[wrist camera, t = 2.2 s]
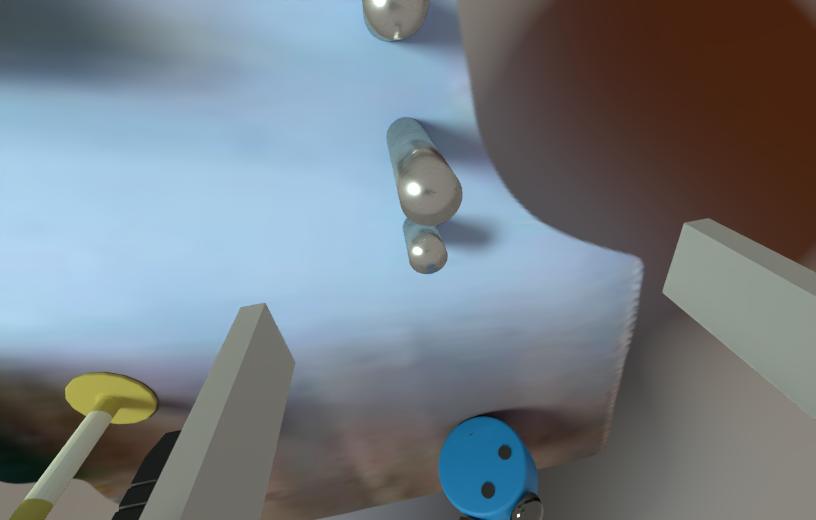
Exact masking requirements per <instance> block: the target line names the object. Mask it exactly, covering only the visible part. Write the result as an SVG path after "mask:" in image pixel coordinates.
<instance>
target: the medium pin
mask: <svg viewBox="0 0 816 520" xmlns="http://www.w3.org/2000/svg"><path fill="white" fill-rule="evenodd" d="M362 2H363V15H364V21H365V24H366V26H367V28H368V30H369V31H370V33H371V34H372V35H373V36H374V37H376V38H377V39H379V40H382V41H394V40H401V39H405V38H407V37H410V36H411V35H413V34H414V33H415V32H416V31H417V30H418V29H419V28H420V27H421V25H422V24H423V22H424V20H425V18H426V15H427V12H428V7H429V0H362Z"/></svg>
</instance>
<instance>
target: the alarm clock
mask: <svg viewBox="0 0 816 520" xmlns="http://www.w3.org/2000/svg"><path fill="white" fill-rule="evenodd" d="M439 475H440V481H441V484H442V487H443V490H444V492H445V493H446V495H447V497H448V499H449V500H450V501H451V503H452V504H453V505H454V506H456V508H458V509H459V510H460V511H461V512H462V513H463V514H464V515H465V516H467V517H460V519H459V520H541V519H542V516H543V506H542V502H541V500H540V498H539V497H538V496H537V489H538V475H537V469H536V465H535V462H534V460H533V458H532V456H531V454H530V452H529V451H528V449H527V447H526V446H525V444H524V443H523V441H522V440H521V438H520V437H519V435H518V434H517V433H516V432H515V430H514V429H513V428H512V427H510V426H509V425H508V424H506V423H505V422H503V421H501V420H499V419H497V418H493V417H487V416H480V417H474V418H471V419H468V420H466V421H464V422H463V423H461V424H460V425H458V426H457V427H456V428H455V429H454V430H453V431H452V432H451V433H450V435H449V436H448V437H447V439H446V441H445V443H444V445H443V448H442V450H441V454H440V459H439Z"/></svg>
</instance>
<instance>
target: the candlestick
mask: <svg viewBox="0 0 816 520" xmlns="http://www.w3.org/2000/svg"><path fill="white" fill-rule="evenodd" d="M65 391H66V399H67V401H68V402H69V403H70V405H71V406H72V407H73V408H74V409H76V410H77V411H79V412H80V413H82V414H83V415H85V416H86V418H85V419H84V420H83V422H82V423H81V424H80V426H79V427H78V428H77V430H76V431H75V432H74V434H73V435H72V436H71V438H70V439H69V440H68V442H67V443H66V444H65V446H64V447H63V448H62V450H61V451H60V452H59V454H58V455H57V456H56V458H55V459H54V460H53V462H52V463H51V464H50V466H49V467H48V468H47V470H46V471H45V472H44V474H43V475H42V476H41V478H40V479H39V480H38V482H37V483H36V484H35V486H34V487H33V489H32V490H31V491H30V492H29V494H28V495H27V496H26V498H25V499H24V500H23V502H22V503H21V504H20V506H19V507H18V508H17V510H16V511H15V512H14V514H13V515H12V516H11V518H10V519H9V520H45V518H46V517H47V515H48V514H49V512H50V511H51V509H52V507H53V506H54V505H55V503H56V502H57V500H58V499H59V497H60V496H61V494H62V493H63V491H64V490H65V488H66V487H67V486H68V484H69V483H70V481H71V480H72V478H73V477H74V475H75V474H76V472H77V471H78V469H79V468H80V466H81V465H82V463H83V462H84V460H85V459H86V457H87V456H88V454H89V453H90V451H91V450H92V449H93V447H94V446H95V444H96V443H97V441H98V440H99V438H100V437H101V435H102V434H103V432H104V431H105V429H106V428H107V426H108V425H109V423H116V424H125V423H136V422H139V421H141V420H144V419H147V418H148V417H149V416H150V415H151V414H153V413H154V412H155V411H156V406H157V399H156V397H155V396H154V394H153V392H152V391H151V390H150V389H149V388H147V387H146V386H145V385H143V384H142V383H141V382H139V381H136V380H134V379H131V378H129V377H127V376H124V375H118V374H113V373H107V372H100V373H87V374H84V375H81V376H78V377H75V378H74V379H73V380H72V381H71V382H70V383H69V384H68V385H67V387H66V388H65Z"/></svg>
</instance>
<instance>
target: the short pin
mask: <svg viewBox="0 0 816 520" xmlns="http://www.w3.org/2000/svg"><path fill="white" fill-rule="evenodd" d="M403 232H404V237H405V242H406V247H407V252H408V257H409V262H410V265H411V266H412V268H413V269H414V270H415V271H417V272H419V273H422V274H431V273H434V272H437V271H439V270H440V269H441V268H442V267H443V266H444V265H445V263H446V261H447V257H448V255H447V251H446V248H445V246H444V243H443V240H442V238H441V235H440V233H439V230H438V228H437V225H435V226H422V225H419V224H416V223H414V222H412V221H411V220H410V219H409V218H408V217H407V219H406V220H405V222H404V224H403Z"/></svg>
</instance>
